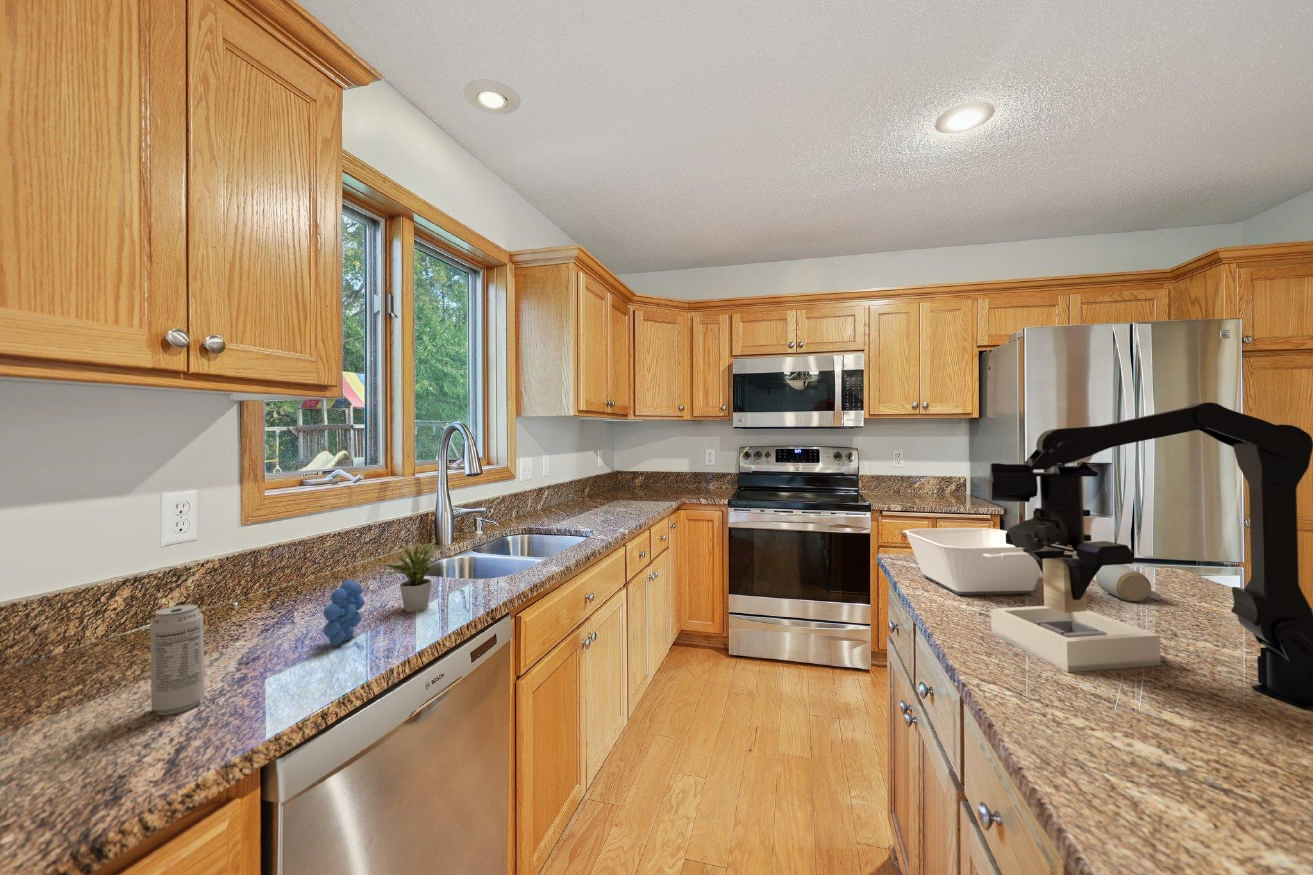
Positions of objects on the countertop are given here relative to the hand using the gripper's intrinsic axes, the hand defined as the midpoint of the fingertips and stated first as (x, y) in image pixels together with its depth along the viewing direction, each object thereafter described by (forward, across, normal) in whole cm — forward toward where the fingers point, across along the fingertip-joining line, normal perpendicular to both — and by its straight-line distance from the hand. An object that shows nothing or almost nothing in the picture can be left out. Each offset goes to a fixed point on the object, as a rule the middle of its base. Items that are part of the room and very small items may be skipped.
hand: (1064, 595), depth 89 cm
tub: (+12, -46, +19) cm, 51 cm away
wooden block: (+2, 0, 0) cm, 2 cm away
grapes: (+11, -36, -130) cm, 135 cm away
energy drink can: (+11, -11, -142) cm, 143 cm away
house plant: (+11, -57, -121) cm, 134 cm away
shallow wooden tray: (+12, -6, +7) cm, 15 cm away
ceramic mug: (+12, -30, +47) cm, 57 cm away
